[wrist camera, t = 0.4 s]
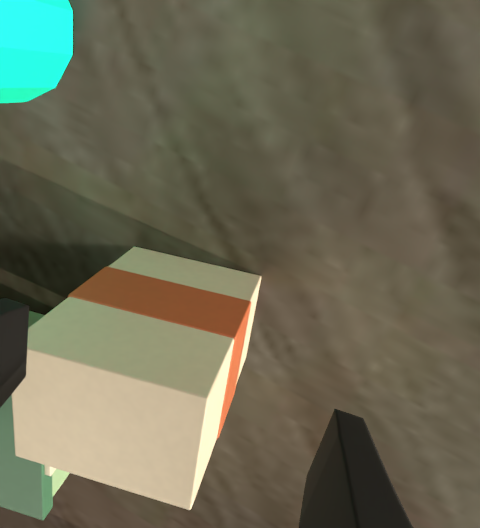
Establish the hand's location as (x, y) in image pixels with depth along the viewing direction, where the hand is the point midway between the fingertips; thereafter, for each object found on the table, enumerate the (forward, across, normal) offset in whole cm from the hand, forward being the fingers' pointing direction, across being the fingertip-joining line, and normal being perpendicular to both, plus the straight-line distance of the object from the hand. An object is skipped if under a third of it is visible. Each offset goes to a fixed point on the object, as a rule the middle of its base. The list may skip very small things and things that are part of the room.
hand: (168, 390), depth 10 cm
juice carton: (+10, +2, +4) cm, 11 cm away
